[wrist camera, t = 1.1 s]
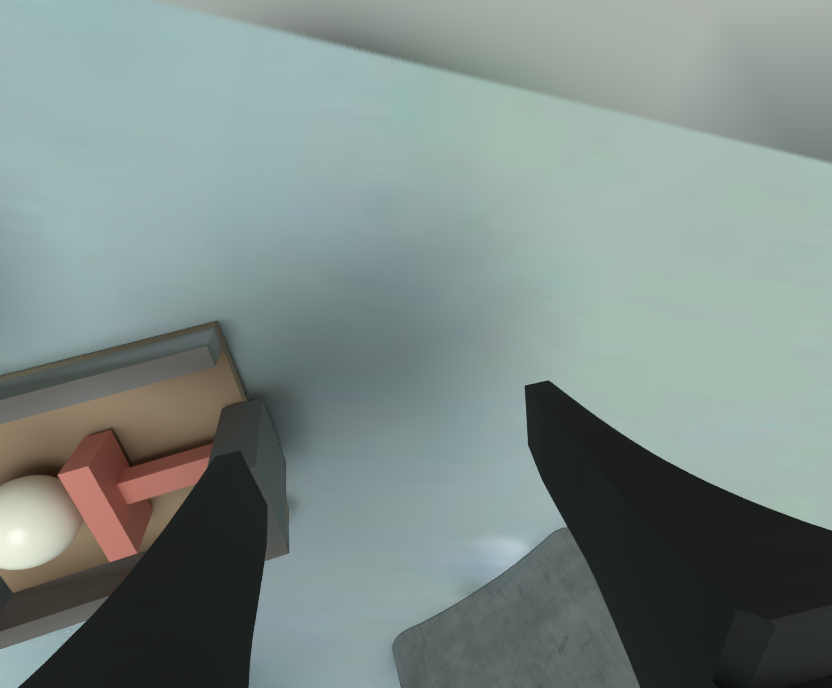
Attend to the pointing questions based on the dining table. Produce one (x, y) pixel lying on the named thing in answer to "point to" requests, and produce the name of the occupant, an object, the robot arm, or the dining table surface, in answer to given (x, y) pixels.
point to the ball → (35, 521)
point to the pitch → (138, 439)
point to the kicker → (170, 478)
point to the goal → (4, 594)
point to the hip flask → (522, 631)
